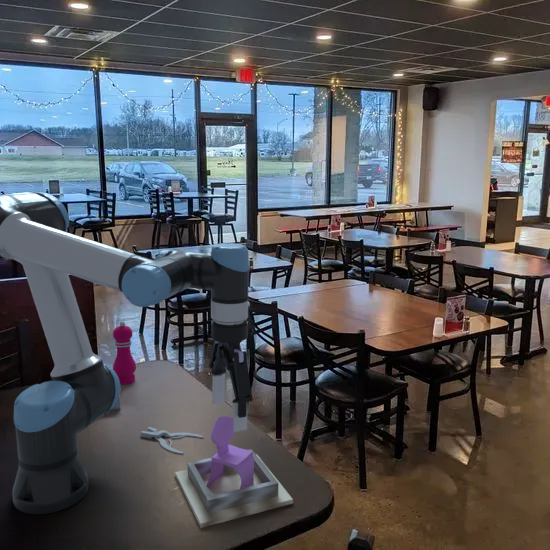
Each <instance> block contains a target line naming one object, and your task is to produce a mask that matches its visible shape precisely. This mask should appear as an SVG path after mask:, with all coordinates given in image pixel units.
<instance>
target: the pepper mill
mask: <svg viewBox="0 0 550 550" xmlns="http://www.w3.org/2000/svg"><path fill="white" fill-rule="evenodd" d="M118 324H119V325H118V326H116V327H115V328H114V329H113V331H112V337H113V339H114V340H115V341H114V346H115V347H116V356H115V359H114V362H113V363H112V364H113V365H112V370H114V371H115V373H116V374H117V376H118V378H119V382H120V385H130V384H133V383H135V381H136V374H135V372H136V370H137V365H136V361H135V359H134V358H133V355H132V353H131V345H132V337H133V330H132V328H131V327H130V326H128V325H126V322H125V321H123V320H122V321H119V323H118Z"/></svg>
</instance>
